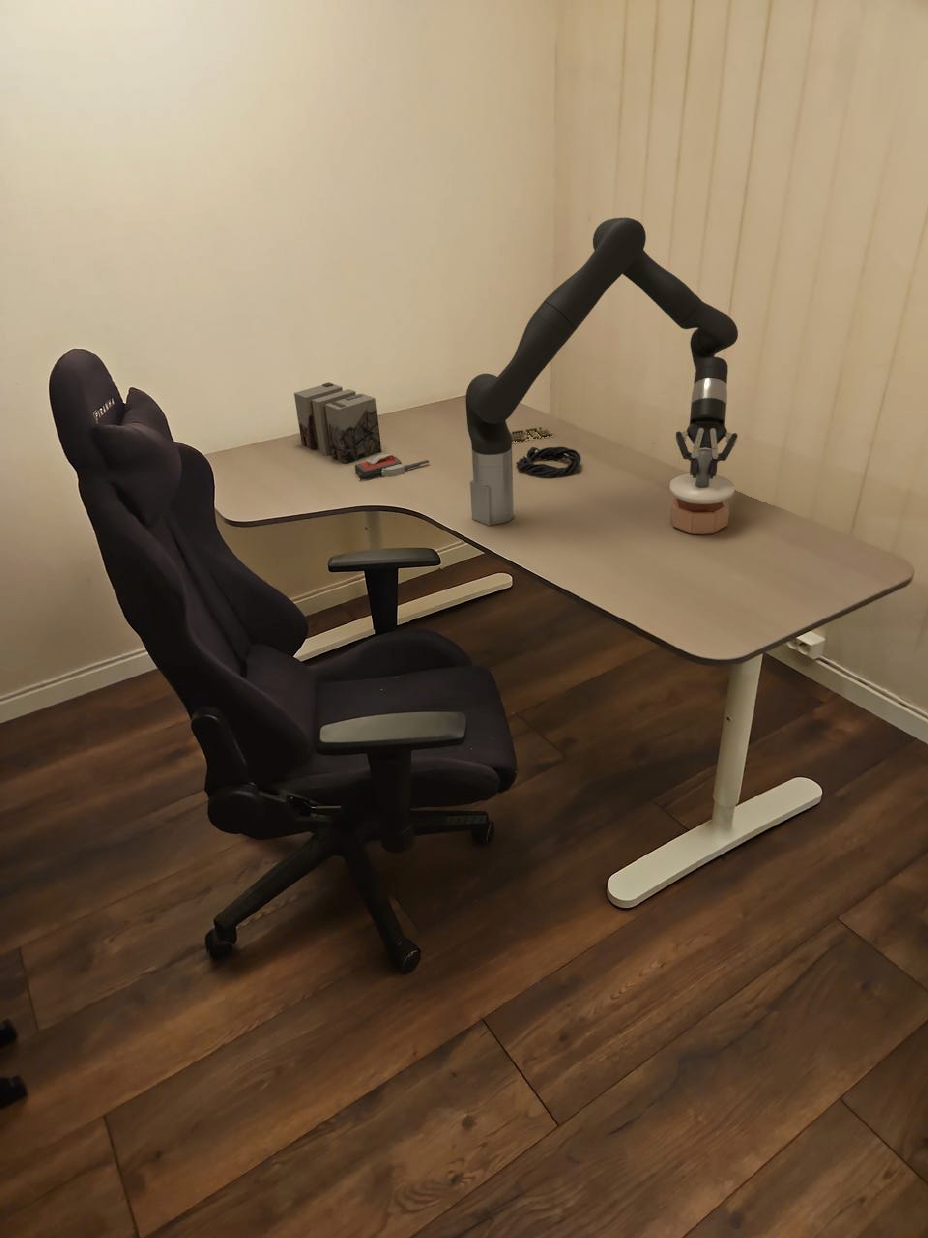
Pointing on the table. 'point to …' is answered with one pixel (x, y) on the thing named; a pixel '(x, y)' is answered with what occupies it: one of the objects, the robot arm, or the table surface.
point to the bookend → (338, 422)
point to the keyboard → (523, 436)
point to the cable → (549, 454)
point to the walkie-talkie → (383, 467)
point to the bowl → (699, 516)
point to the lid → (702, 483)
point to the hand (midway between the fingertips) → (703, 476)
